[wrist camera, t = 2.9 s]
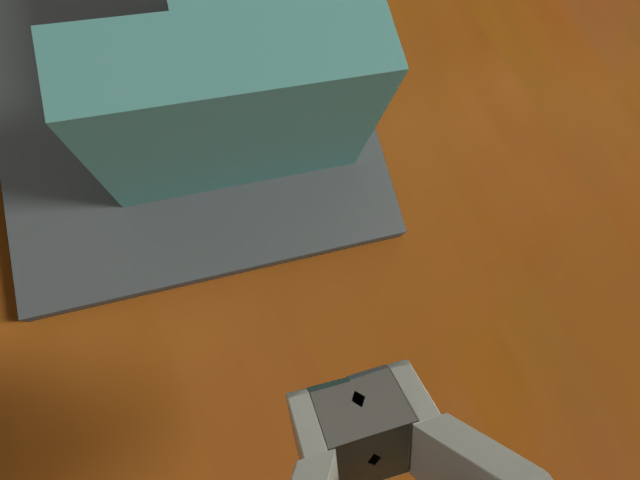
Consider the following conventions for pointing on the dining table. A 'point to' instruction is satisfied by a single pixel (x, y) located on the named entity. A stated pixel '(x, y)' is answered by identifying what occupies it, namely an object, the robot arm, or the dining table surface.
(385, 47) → the tee block
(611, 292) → the dining table surface
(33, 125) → the slate board
